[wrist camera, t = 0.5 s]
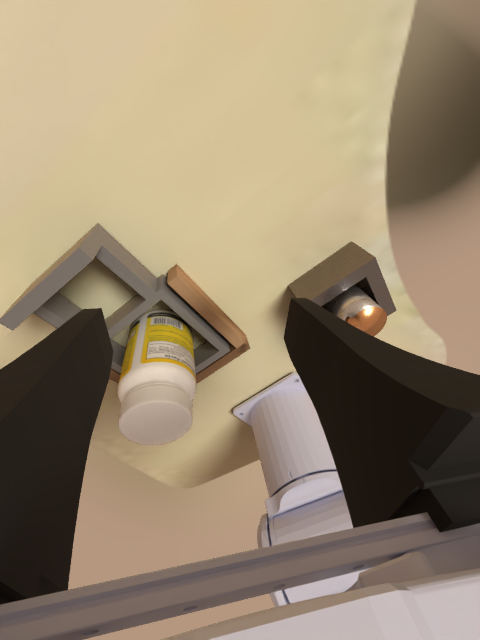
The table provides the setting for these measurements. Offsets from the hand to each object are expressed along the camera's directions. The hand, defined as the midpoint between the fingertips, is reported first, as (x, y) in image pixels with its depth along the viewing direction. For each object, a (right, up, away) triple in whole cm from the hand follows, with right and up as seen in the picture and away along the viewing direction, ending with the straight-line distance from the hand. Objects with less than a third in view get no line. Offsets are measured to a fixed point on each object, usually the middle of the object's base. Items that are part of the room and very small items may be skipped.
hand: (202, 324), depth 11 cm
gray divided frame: (-6, 0, +10) cm, 11 cm away
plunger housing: (+9, +3, +12) cm, 15 cm away
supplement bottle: (-5, -1, +11) cm, 12 cm away
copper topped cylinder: (+9, +2, +10) cm, 14 cm away
